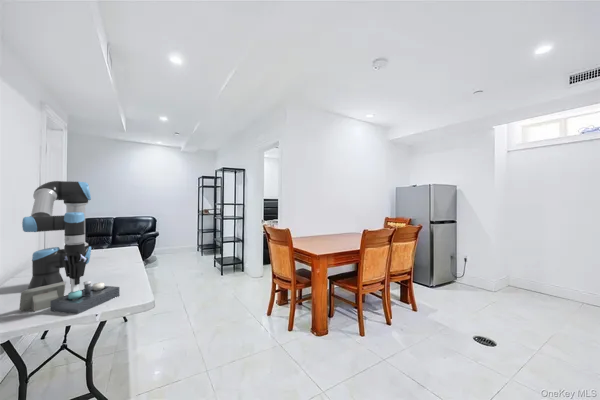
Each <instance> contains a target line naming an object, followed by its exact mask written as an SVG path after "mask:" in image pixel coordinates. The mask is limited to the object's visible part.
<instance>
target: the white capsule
mask: <svg viewBox="0 0 600 400" xmlns="http://www.w3.org/2000/svg"><path fill="white" fill-rule="evenodd" d="M91 284H92V281H91V280H87V281H84V282H83V285H84V288H83V289H84V294H90V287H91Z"/></svg>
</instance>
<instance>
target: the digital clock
mask: <svg viewBox="0 0 600 400" xmlns="http://www.w3.org/2000/svg"><path fill="white" fill-rule="evenodd" d="M65 292H66V282H65V281H64V282H61V283H56V284H51V285H47V286H42V287H38V288H33V289H29V290H28V289H26V290H25V289H24V290H23V291H21V293H20V302H19V311H20V312H25V311H29V310H31V311H32V312H34V313H35V312H39V311H42V310H46V309H51V300H54V299H57V298H60V297H63V296H65Z"/></svg>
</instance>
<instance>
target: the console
mask: <svg viewBox="0 0 600 400" xmlns="http://www.w3.org/2000/svg"><path fill="white" fill-rule="evenodd" d="M104 287H105V288H104V289H101V291H98V292H96V290H93V285H92V286H91V285H90V294H84V288H83V289H80V290H81V291H82V297H80V298H78V299H77V300H75V301H73V299H68V294H65V295H64V296H63V297H60V298H57V299H54V300H51V307H50V312H54V313H55V312H56V313H66V314H74V315H75V314H76V315H79V314H81V313H83V312H86V311H88V310H90V309H93V308H95V307H98V306H99V305H102V304H104V303H107V302H109V301H111V300H113V298H114V299H116V298H119V297H120V286H112V285H110V286H109V285H104ZM115 297H116V298H115Z"/></svg>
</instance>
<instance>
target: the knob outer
mask: <svg viewBox="0 0 600 400" xmlns="http://www.w3.org/2000/svg"><path fill="white" fill-rule="evenodd" d="M81 290H82V289H79V290H78V291H75V292H71V291H70V292H68V293H67V295H68V299H73V301H75V300H77V299H78V298H80V297H82V291H81Z"/></svg>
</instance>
